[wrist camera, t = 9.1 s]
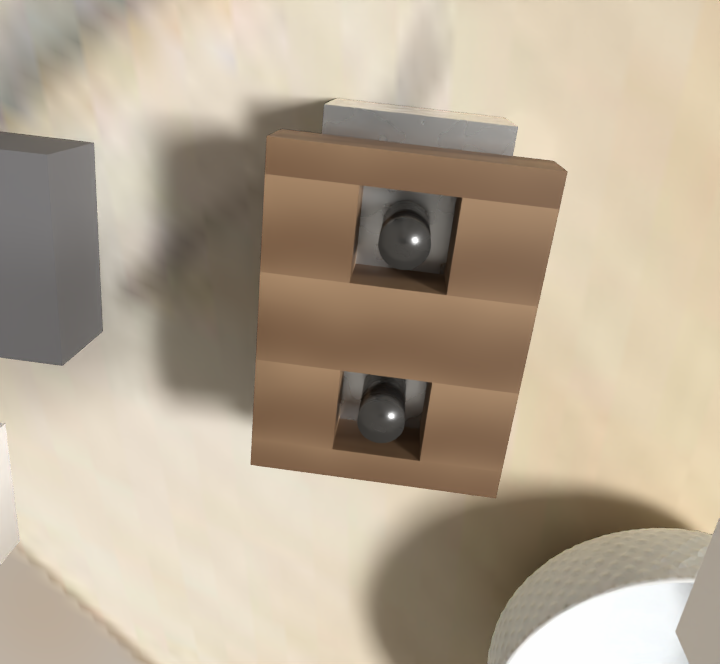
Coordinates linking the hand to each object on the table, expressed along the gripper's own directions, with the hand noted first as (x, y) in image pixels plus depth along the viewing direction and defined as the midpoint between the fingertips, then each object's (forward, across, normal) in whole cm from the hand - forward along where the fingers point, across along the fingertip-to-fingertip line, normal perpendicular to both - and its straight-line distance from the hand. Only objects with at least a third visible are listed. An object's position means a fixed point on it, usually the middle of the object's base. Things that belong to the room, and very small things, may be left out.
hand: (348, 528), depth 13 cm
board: (+15, 0, -1) cm, 15 cm away
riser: (+19, -16, -1) cm, 25 cm away
